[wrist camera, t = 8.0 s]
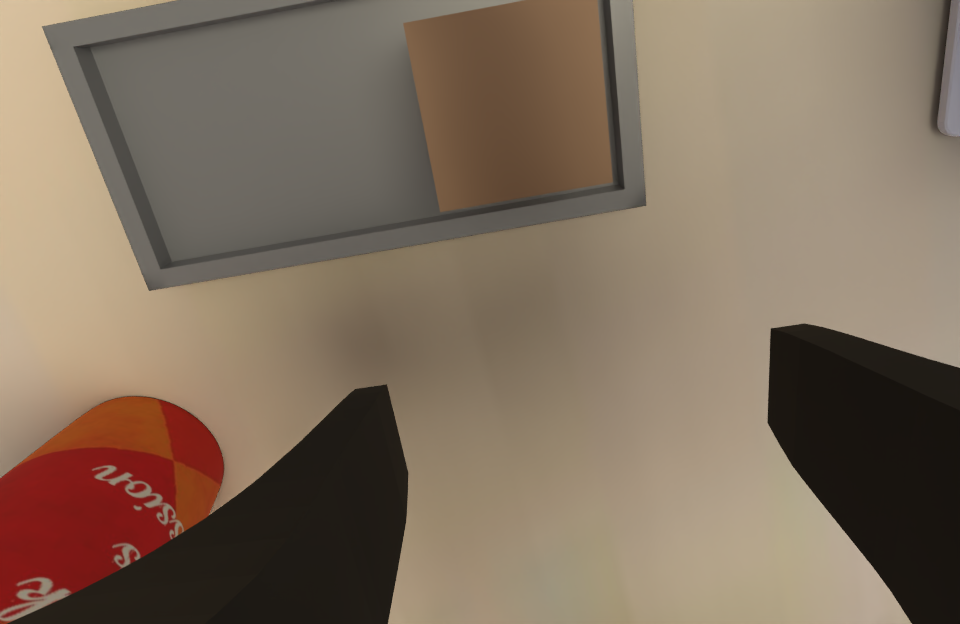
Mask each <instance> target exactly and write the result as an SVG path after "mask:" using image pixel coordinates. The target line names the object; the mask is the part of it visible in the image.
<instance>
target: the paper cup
mask: <svg viewBox="0 0 960 624" xmlns="http://www.w3.org/2000/svg"><path fill="white" fill-rule="evenodd" d="M223 473H224V464H223V457H222V453H221V451H220V448H219V446H218V444H217V442H216V440H215V438H214V437H213V435H212V434H211V433H210V431H209V430H208V429H207V428H206V427H205V426H204V425H203V424H202V423H201V422H200V421H199V420H198V419H197V418H195V417H194V416H193V415H191V414H190V413H188V412H187V411H185V410H183V409H182V408H180V407H178V406H176V405H173V404H171V403H168V402H165V401H162V400H159V399H154V398H149V397H137V396H132V397H121V398H116V399H113V400H109V401H107V402H104V403H102V404H100V405H98V406H96V407H94V408H93V409H91V410H90V411H88V412H87V413H85V414H84V415H82V416H81V417H80V418H78V419H77V420H75V421H74V422H73V423H71V424H70V425H69V426H67V427H66V428H65V429H63V430H62V431H61V432H59V433H58V434H57V435H55V436H54V437H53V438H52V439H50V440H49V441H48V442H46V443H45V444H44V445H43V446H41V447H40V448H39V449H37V450H36V451H35V452H34V453H32V454H31V455H30V456H28V457H27V458H26V459H25V460H23V461H22V462H21V463H19V464H18V465H17V466H16V467H14V468H13V469H12V470H10V471H9V472H8V473H7V474H5V475H4V476H3V477H2V478H0V624H7V623H9V622H11V621H14V620H16V619H18V618H20V617H23V616H25V615H27V614H29V613H32V612H34V611H36V610H38V609H40V608H43V607H45V606H47V605H49V604H52V603H54V602H56V601H58V600H61V599H63V598H65V597H67V596H69V595H71V594H73V593H75V592H77V591H79V590H81V589H83V588H85V587H87V586H89V585H91V584H93V583H95V582H97V581H99V580H101V579H103V578H104V577H106V576H108V575H110V574H112V573H114V572H116V571H118V570H120V569H122V568H123V567H125V566H127V565H129V564H131V563H132V562H134V561H136V560H138V559H140V558H142V557H143V556H145V555H147V554H149V553H150V552H152V551H154V550H155V549H157V548H158V547H160V546H162V545H163V544H165V543H166V542H168V541H170V540H171V539H173V538H174V537H176V536H178V535H179V534H181V533H182V532H184V531H186V530H187V529H189V528H190V527H192V526H194V525H195V524H197V523H198V522H200V521H202V520H203V519H205V518H206V517H208V515H209V513H210V511H211V508H212V506H213V504H214V501H215V499H216V497H217V494H218V491H219V489H220V486H221V483H222V479H223Z"/></svg>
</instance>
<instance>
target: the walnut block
mask: <svg viewBox="0 0 960 624" xmlns="http://www.w3.org/2000/svg"><path fill="white" fill-rule="evenodd" d="M403 26H404V31H405V36H406V41H407V46H408V51H409V56H410V61H411V66H412V71H413V76H414V81H415V86H416V92H417V97H418V102H419V107H420V112H421V117H422V122H423V127H424V132H425V137H426V142H427V147H428V152H429V157H430V162H431V167H432V172H433V177H434V182H435V188H436V193H437V198H438V203H439V208H440V212H444V211H450V210H456V209H462V208H467V207H473V206H479V205H485V204H490V203H496V202H502V201H508V200H513V199H519V198H525V197H531V196H536V195H542V194H548V193H554V192H560V191H565V190H571V189H577V188H583V187H588V186H594V185H600V184H606V183H611V182H613V177H612V166H611V154H610V142H609V130H608V119H607V107H606V95H605V84H604V72H603V60H602V49H601V37H600V25H599V13H598V2H597V0H523V1H518V2H513V3H507V4H502V5H497V6H491V7H486V8H481V9H475V10H470V11H465V12H459V13H454V14H449V15H443V16H438V17H433V18H427V19H422V20H417V21H411V22H406V23H403Z"/></svg>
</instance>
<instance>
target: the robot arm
mask: <svg viewBox="0 0 960 624" xmlns="http://www.w3.org/2000/svg"><path fill="white" fill-rule="evenodd" d="M937 123H938V129H939V130H940V132H941V133H943V134H945V135H948V136H960V0H951V7H950V15H949V24H948V33H947V42H946V50H945V59H944V68H943V77H942V85H941V94H940V103H939V112H938V120H937ZM768 424H769V426H770V428H771V430H772V432H773V433H774V435H775V437H776V439H777V440H778V442H779V444H780V446H781V448H782V449H783V451H784V453H785V454H786V456H787V457H788V459H789V461H790V462H791V464H792V466H793V467H794V468H795V470H796V471H797V472H798V474H799V475H800V476H801V478H802V479H803V480H804V481H805V483H806V484H807V485H808V487H809V488H810V489H811V490H812V492H813V493H814V494H815V495H816V497H817V498H818V499H819V500H820V502H821V503H822V504H823V505H824V507H825V508H826V509H827V510H828V512H829V513H830V514H831V515H832V517H833V518H834V519H835V520H836V522H837V523H838V524H839V525H840V527H841V528H842V529H843V530H844V531H845V533H846V534H847V535H848V536H849V538H850V539H851V540H852V541H853V543H854V544H855V545H856V546H857V548H858V549H859V550H860V551H861V553H862V554H863V555H864V556H865V558H866V559H867V560H868V561H869V563H870V564H871V565H872V566H873V568H874V569H875V570H876V572H877V573H878V574H879V576H880V577H881V578H882V580H883V581H884V583H885V584H886V585H887V587H888V588H889V589H890V591H891V592H892V594H893V595H894V597H895V598H896V600H897V601H898V603H899V604H900V606H901V608H902V609H903V611H904V612H905V614H906V615H907V617H908V618H909V620H910V621H911V623H912V624H960V368H958V367H954V366H951V365H947V364H944V363H940V362H937V361H933V360H930V359H927V358H923V357H920V356H917V355H913V354H910V353H907V352H903V351H900V350H897V349H894V348H891V347H887V346H884V345H881V344H878V343H874V342H871V341H868V340H865V339H862V338H858V337H855V336H852V335H849V334H845V333H842V332H838V331H835V330H831V329H827V328H823V327H819V326H815V325H809V324H799V325H792V326H785V327H778V328H771V339H770V368H769V397H768ZM407 495H408V470H407V466H406V462H405V458H404V454H403V449H402V445H401V441H400V437H399V433H398V429H397V425H396V420H395V416H394V412H393V408H392V404H391V400H390V396H389V391H388V387H387V385H381V386H374V387H367V388H360V389H355V390H354V391H352V392H351V393H350V394H349V395H348V396H347V397H346V398H345V399H343V400H342V401H341V402H340V403H339V404H338V405H337V406H336V407H335V408H334V409H333V410H332V411H331V412H330V413H329V414H328V415H327V416H326V417H325V418H324V419H323V420H322V421H321V422H320V423H319V424H318V425H317V426H316V427H315V428H314V429H313V430H312V431H311V432H310V433H309V434H308V435H307V436H306V437H305V438H304V439H303V440H302V441H300V442H299V443H298V444H297V445H296V446H295V447H294V448H293V449H292V450H291V451H289V452H288V453H287V454H286V455H285V456H284V457H283V458H281V459H280V460H279V461H278V462H277V463H276V464H275V465H274V466H272V467H271V468H270V469H269V470H268V471H267V472H266V473H264V474H263V475H262V476H261V477H260V478H259V479H257V480H256V481H255V482H254V483H252V484H251V485H250V486H249V487H247V488H246V489H245V490H243V491H242V492H241V493H240V494H238V495H237V496H236V497H234V498H233V499H231V500H230V501H229V502H227V503H226V504H225V505H223V506H222V507H220V508H219V509H218V510H216V511H215V512H213V513H212V514H211V515H209V516H208V517H206V518H205V519H203V520H202V521H200V522H198V523H197V524H195V525H194V526H192V527H190V528H189V529H187V530H186V531H184V532H182V533H181V534H179V535H178V536H176V537H174V538H173V539H171V540H170V541H168V542H166V543H165V544H163V545H162V546H160V547H158V548H157V549H155V550H154V551H152V552H150V553H149V554H147V555H145V556H143V557H142V558H140V559H138V560H136V561H134V562H132V563H131V564H129V565H127V566H125V567H123V568H122V569H120V570H118V571H116V572H114V573H112V574H110V575H108V576H106V577H104V578H103V579H101V580H99V581H97V582H95V583H93V584H91V585H89V586H87V587H85V588H83V589H81V590H79V591H77V592H75V593H73V594H71V595H69V596H67V597H65V598H63V599H61V600H58V601H56V602H54V603H52V604H49V605H47V606H45V607H43V608H40V609H38V610H36V611H34V612H32V613H29V614H27V615H25V616H23V617H20V618H18V619H16V620H14V621H11V622H9V623H7V624H388V619H389V614H390V608H391V603H392V597H393V592H394V586H395V581H396V575H397V570H398V565H399V559H400V553H401V548H402V542H403V536H404V530H405V524H406V516H407Z"/></svg>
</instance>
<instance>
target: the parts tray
mask: <svg viewBox="0 0 960 624" xmlns="http://www.w3.org/2000/svg"><path fill="white" fill-rule="evenodd" d="M518 1H523V0H177V1H172V2H167V3H162V4H156V5H151V6H146V7H141V8H136V9H131V10H125V11H120V12H115V13H110V14H105V15H99V16H94V17H89V18H84V19H79V20H74V21H68V22H63V23H58V24H53V25H48V26H42V28H43V30H44V33H45V35H46V38H47V40H48V43H49V45H50V48H51V50H52V53H53V55H54V57H55V60H56V62H57V65H58V67H59V70H60V72H61V75H62V77H63V80H64V82H65V85H66V87H67V90H68V92H69V94H70V97H71V99H72V102H73V104H74V107H75V109H76V112H77V114H78V117H79V119H80V122H81V124H82V127H83V129H84V131H85V134H86V136H87V139H88V141H89V144H90V146H91V149H92V151H93V154H94V156H95V159H96V161H97V164H98V166H99V169H100V171H101V173H102V176H103V178H104V181H105V183H106V186H107V188H108V191H109V193H110V196H111V198H112V201H113V203H114V206H115V208H116V210H117V213H118V215H119V218H120V220H121V223H122V225H123V228H124V230H125V233H126V235H127V238H128V240H129V243H130V245H131V247H132V250H133V252H134V255H135V257H136V260H137V262H138V265H139V267H140V270H141V272H142V275H143V277H144V280H145V282H146V284H147V287H148V289H149V291H151V290H156V289H162V288H168V287H174V286H180V285H186V284H191V283H197V282H203V281H209V280H215V279H221V278H227V277H232V276H238V275H244V274H250V273H256V272H262V271H267V270H273V269H279V268H285V267H291V266H297V265H302V264H308V263H314V262H320V261H326V260H332V259H337V258H343V257H349V256H355V255H361V254H367V253H372V252H378V251H384V250H390V249H396V248H402V247H407V246H413V245H419V244H425V243H431V242H437V241H442V240H448V239H454V238H460V237H466V236H472V235H477V234H483V233H489V232H495V231H501V230H507V229H513V228H518V227H524V226H530V225H536V224H542V223H548V222H553V221H559V220H565V219H571V218H577V217H583V216H588V215H594V214H600V213H606V212H612V211H618V210H623V209H629V208H635V207H641V206H646V195H645V180H644V165H643V150H642V134H641V119H640V104H639V89H638V73H637V58H636V43H635V27H634V12H633V0H597V2H598V13H599V25H600V37H601V49H602V60H603V72H604V84H605V95H606V107H607V119H608V130H609V142H610V154H611V166H612V177H613V182H611V183H606V184H600V185H594V186H588V187H583V188H577V189H571V190H565V191H560V192H554V193H548V194H542V195H536V196H531V197H525V198H519V199H513V200H508V201H502V202H496V203H490V204H485V205H479V206H473V207H467V208H462V209H456V210H450V211H444V212H440V208H439V203H438V198H437V193H436V188H435V182H434V177H433V172H432V167H431V162H430V157H429V152H428V147H427V142H426V137H425V132H424V127H423V122H422V117H421V112H420V107H419V102H418V97H417V92H416V86H415V81H414V76H413V71H412V66H411V61H410V56H409V51H408V46H407V41H406V36H405V31H404V26H403V23H406V22H411V21H417V20H422V19H427V18H433V17H438V16H443V15H449V14H454V13H459V12H465V11H470V10H475V9H481V8H486V7H491V6H497V5H502V4H507V3H513V2H518Z"/></svg>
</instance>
